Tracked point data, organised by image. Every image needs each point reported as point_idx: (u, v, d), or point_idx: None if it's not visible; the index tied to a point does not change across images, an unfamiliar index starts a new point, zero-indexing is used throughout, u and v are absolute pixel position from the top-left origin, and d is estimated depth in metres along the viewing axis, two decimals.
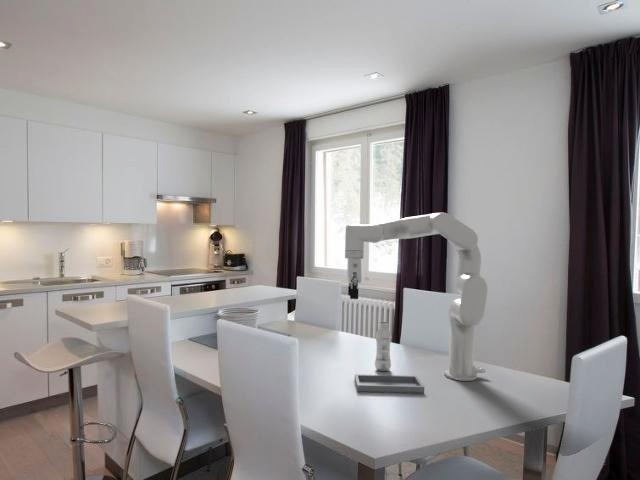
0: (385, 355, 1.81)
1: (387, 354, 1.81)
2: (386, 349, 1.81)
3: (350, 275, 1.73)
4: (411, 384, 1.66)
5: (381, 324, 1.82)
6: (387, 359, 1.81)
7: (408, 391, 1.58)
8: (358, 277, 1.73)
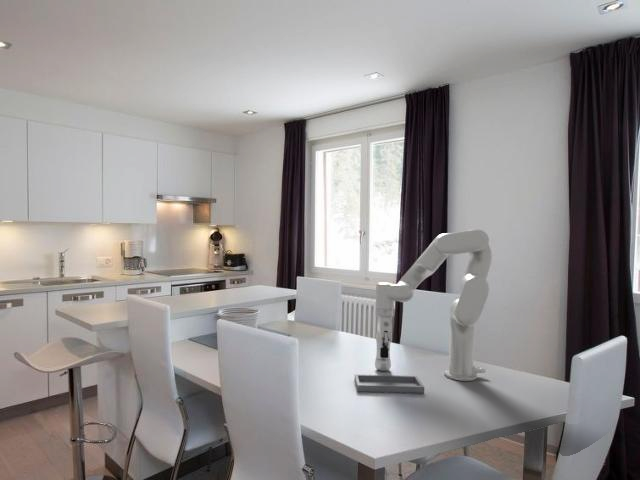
0: None
1: None
2: None
3: (381, 333, 1.78)
4: (411, 384, 1.66)
5: None
6: (387, 359, 1.81)
7: (408, 391, 1.58)
8: (389, 338, 1.79)
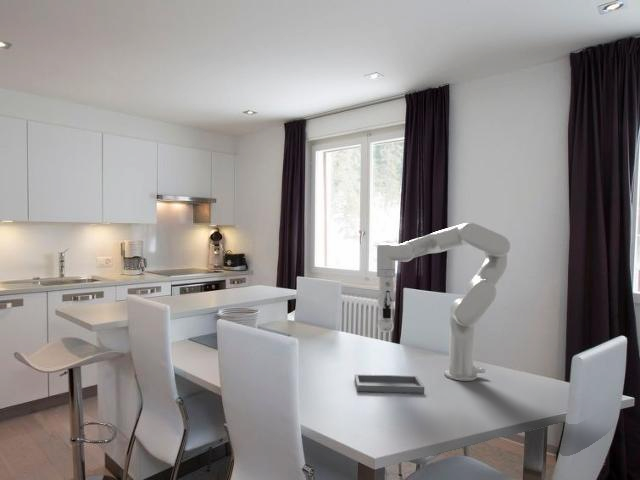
0: None
1: None
2: None
3: (383, 293, 1.78)
4: (411, 384, 1.66)
5: None
6: (390, 320, 1.81)
7: (408, 391, 1.58)
8: (391, 298, 1.78)
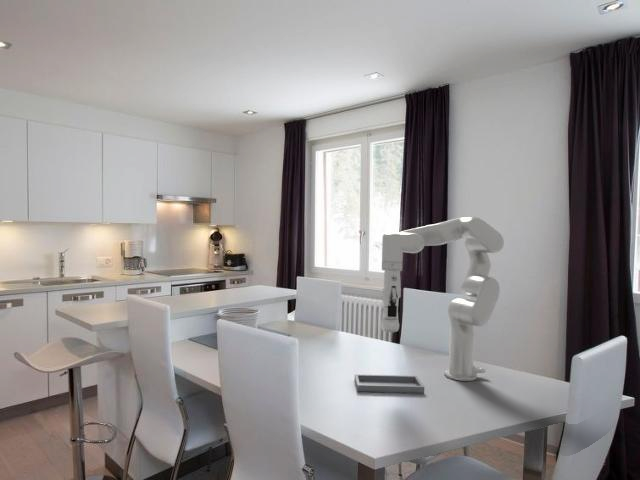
0: None
1: None
2: None
3: (388, 289, 1.58)
4: (411, 384, 1.66)
5: None
6: (395, 319, 1.61)
7: (408, 391, 1.58)
8: (397, 294, 1.58)
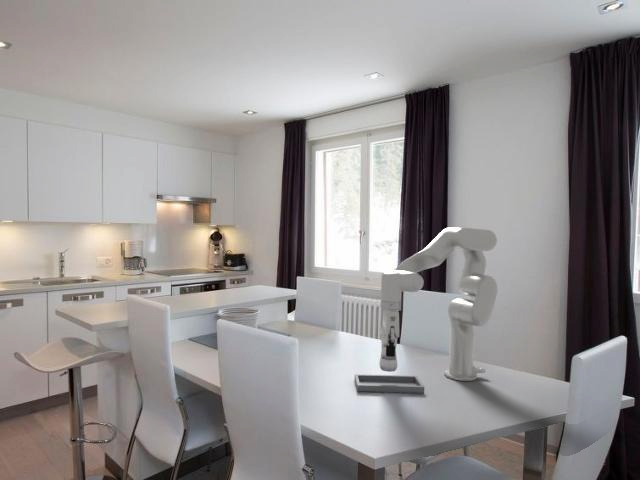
0: None
1: None
2: None
3: (387, 329, 1.58)
4: (411, 384, 1.66)
5: None
6: (393, 358, 1.61)
7: (408, 391, 1.58)
8: (396, 334, 1.58)
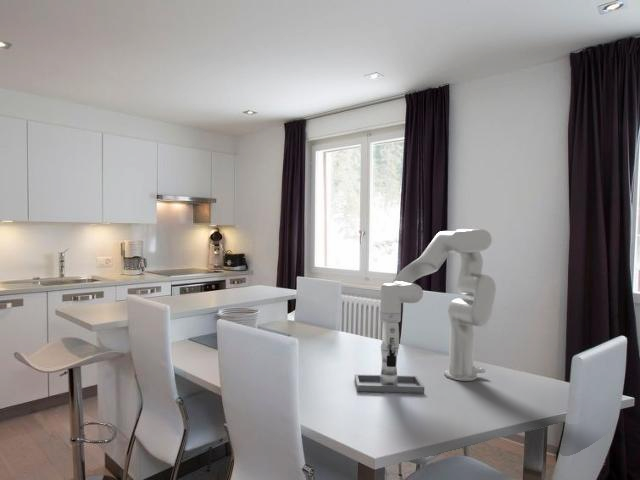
0: (391, 369, 1.60)
1: (394, 368, 1.61)
2: None
3: (387, 341, 1.58)
4: (411, 384, 1.66)
5: None
6: (394, 374, 1.61)
7: (408, 391, 1.58)
8: (396, 343, 1.58)
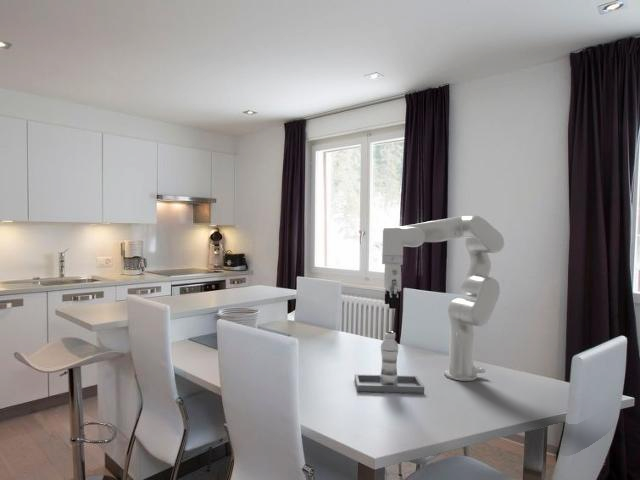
0: (391, 369, 1.60)
1: (394, 368, 1.61)
2: (392, 362, 1.61)
3: (389, 283, 1.58)
4: (411, 384, 1.66)
5: (387, 334, 1.61)
6: (394, 374, 1.61)
7: (408, 391, 1.58)
8: (398, 285, 1.58)
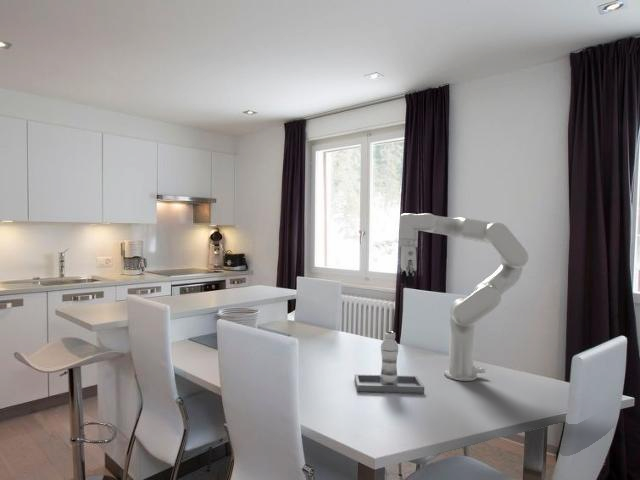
0: (391, 369, 1.60)
1: (394, 368, 1.61)
2: (392, 362, 1.61)
3: (406, 263, 1.78)
4: (411, 384, 1.66)
5: (387, 334, 1.61)
6: (394, 374, 1.61)
7: (408, 391, 1.58)
8: (413, 265, 1.78)
